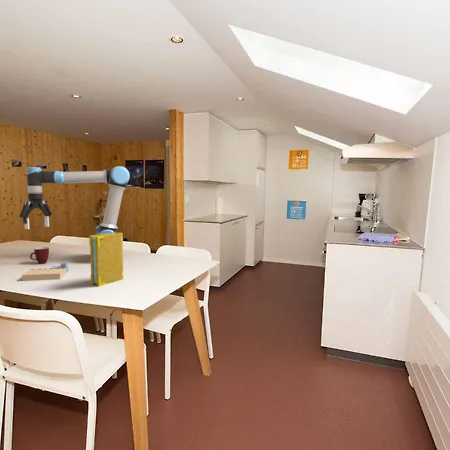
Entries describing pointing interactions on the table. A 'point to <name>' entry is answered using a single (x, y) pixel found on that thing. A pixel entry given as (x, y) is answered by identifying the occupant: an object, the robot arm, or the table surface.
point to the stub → (63, 265)
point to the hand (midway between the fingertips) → (37, 227)
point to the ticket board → (44, 274)
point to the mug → (41, 254)
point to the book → (106, 258)
